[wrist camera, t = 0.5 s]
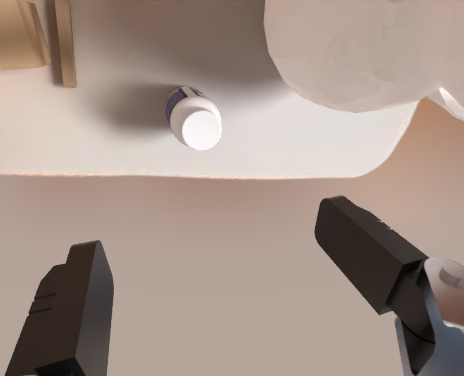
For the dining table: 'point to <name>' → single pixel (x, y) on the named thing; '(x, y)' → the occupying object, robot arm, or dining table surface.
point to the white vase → (369, 51)
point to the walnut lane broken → (66, 42)
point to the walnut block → (21, 36)
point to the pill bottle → (193, 118)
